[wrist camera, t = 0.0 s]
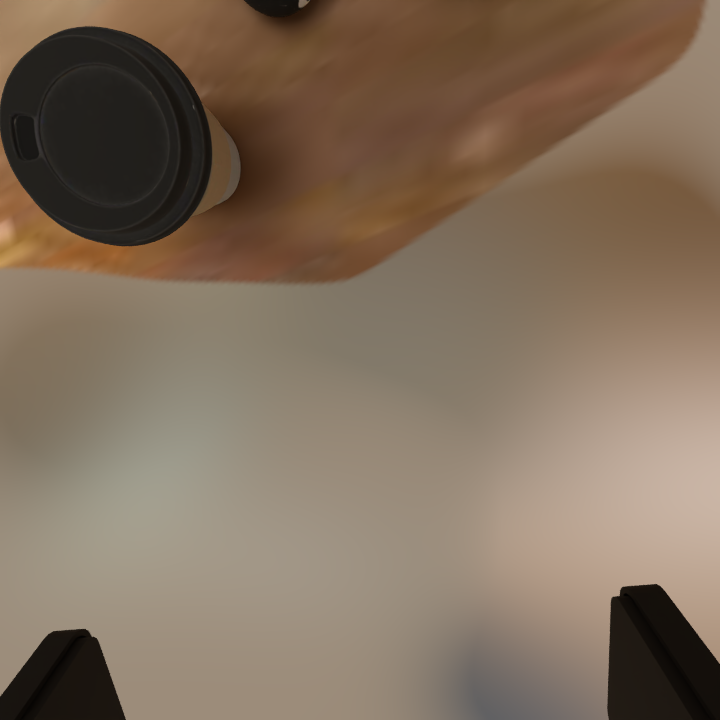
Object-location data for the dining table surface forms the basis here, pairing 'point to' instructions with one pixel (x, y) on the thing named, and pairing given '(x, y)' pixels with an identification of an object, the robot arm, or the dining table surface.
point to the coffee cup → (113, 137)
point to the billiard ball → (277, 6)
